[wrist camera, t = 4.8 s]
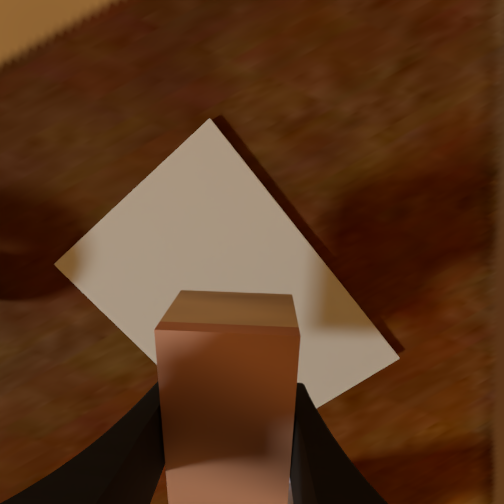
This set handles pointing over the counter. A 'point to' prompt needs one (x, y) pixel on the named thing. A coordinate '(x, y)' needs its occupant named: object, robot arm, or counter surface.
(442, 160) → the counter surface
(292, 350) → the pink and beige box
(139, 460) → the robot arm
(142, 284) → the mat
